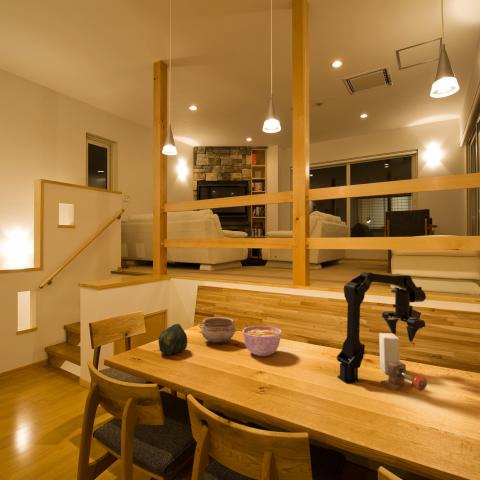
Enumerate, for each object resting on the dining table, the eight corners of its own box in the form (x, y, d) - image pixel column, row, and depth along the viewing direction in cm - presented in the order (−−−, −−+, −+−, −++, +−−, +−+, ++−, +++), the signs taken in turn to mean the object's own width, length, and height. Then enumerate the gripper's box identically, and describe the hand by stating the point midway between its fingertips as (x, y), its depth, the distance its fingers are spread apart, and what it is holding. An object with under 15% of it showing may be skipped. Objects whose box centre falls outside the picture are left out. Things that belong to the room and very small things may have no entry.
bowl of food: (288, 351, 157) (288, 329, 157) (270, 364, 140) (270, 339, 140) (254, 344, 168) (254, 323, 168) (234, 355, 151) (234, 332, 151)
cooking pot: (244, 340, 175) (244, 319, 176) (231, 350, 158) (231, 327, 158) (206, 335, 185) (207, 314, 185) (190, 344, 168) (190, 322, 168)
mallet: (417, 392, 108) (417, 378, 108) (383, 374, 124) (383, 361, 124) (428, 390, 110) (428, 376, 110) (393, 372, 125) (393, 360, 125)
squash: (147, 343, 153) (164, 322, 150) (165, 336, 167) (181, 317, 163) (164, 365, 148) (182, 344, 145) (181, 356, 162) (198, 337, 159)
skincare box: (400, 375, 129) (400, 339, 129) (383, 374, 131) (383, 338, 131) (394, 367, 138) (394, 333, 138) (378, 365, 139) (378, 332, 139)
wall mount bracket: (392, 390, 116) (392, 368, 116) (380, 383, 122) (380, 362, 122) (412, 386, 119) (412, 365, 119) (400, 380, 125) (400, 359, 125)
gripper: (435, 306, 127) (435, 343, 127) (400, 298, 145) (400, 331, 145) (414, 307, 124) (414, 346, 124) (381, 299, 142) (381, 332, 142)
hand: (402, 338), depth 133 cm, fingers open, 9 cm apart
